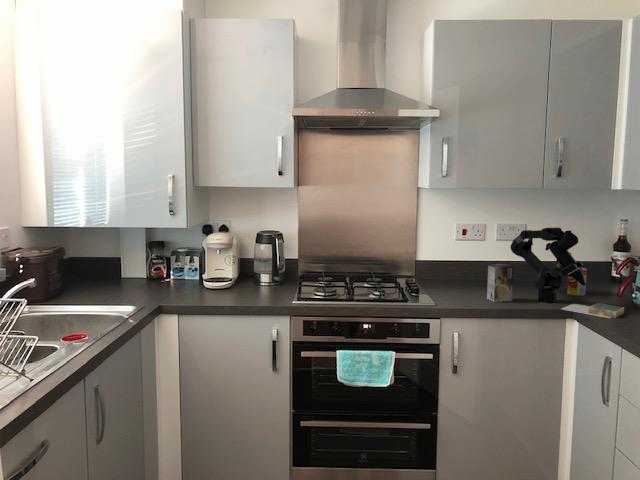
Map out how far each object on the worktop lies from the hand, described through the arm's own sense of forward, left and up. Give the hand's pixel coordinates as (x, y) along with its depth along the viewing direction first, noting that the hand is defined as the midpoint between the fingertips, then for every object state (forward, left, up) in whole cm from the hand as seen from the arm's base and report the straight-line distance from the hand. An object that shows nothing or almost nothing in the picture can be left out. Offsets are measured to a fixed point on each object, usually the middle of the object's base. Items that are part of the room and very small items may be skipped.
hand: (584, 285), depth 219 cm
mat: (+4, -2, -10) cm, 11 cm away
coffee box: (-32, -11, -10) cm, 35 cm away
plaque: (+5, -2, -8) cm, 10 cm away
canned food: (-14, +29, -10) cm, 34 cm away
